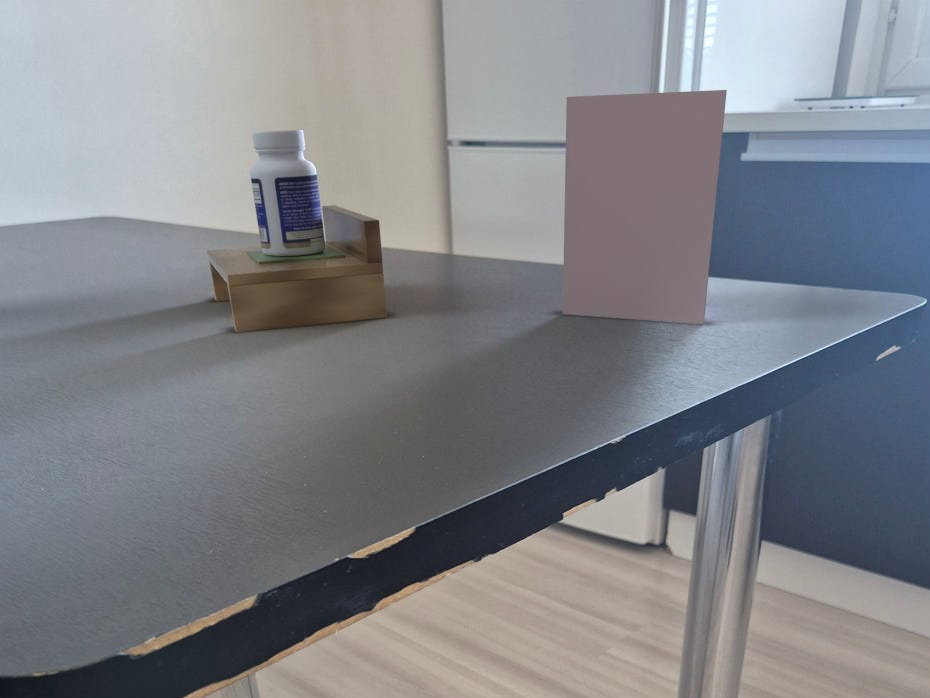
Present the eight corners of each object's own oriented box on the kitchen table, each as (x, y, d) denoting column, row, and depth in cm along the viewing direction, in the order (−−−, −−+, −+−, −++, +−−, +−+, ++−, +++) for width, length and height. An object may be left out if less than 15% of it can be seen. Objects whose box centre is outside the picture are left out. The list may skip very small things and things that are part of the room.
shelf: (237, 336, 67) (219, 230, 63) (215, 302, 80) (200, 213, 76) (387, 320, 71) (379, 220, 67) (343, 291, 84) (334, 205, 80)
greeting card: (712, 326, 65) (737, 89, 57) (630, 338, 62) (644, 91, 55) (625, 303, 74) (636, 95, 66) (549, 313, 71) (551, 97, 64)
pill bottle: (335, 248, 75) (323, 128, 70) (309, 257, 70) (293, 130, 66) (279, 248, 76) (263, 130, 71) (250, 257, 72) (231, 132, 67)
